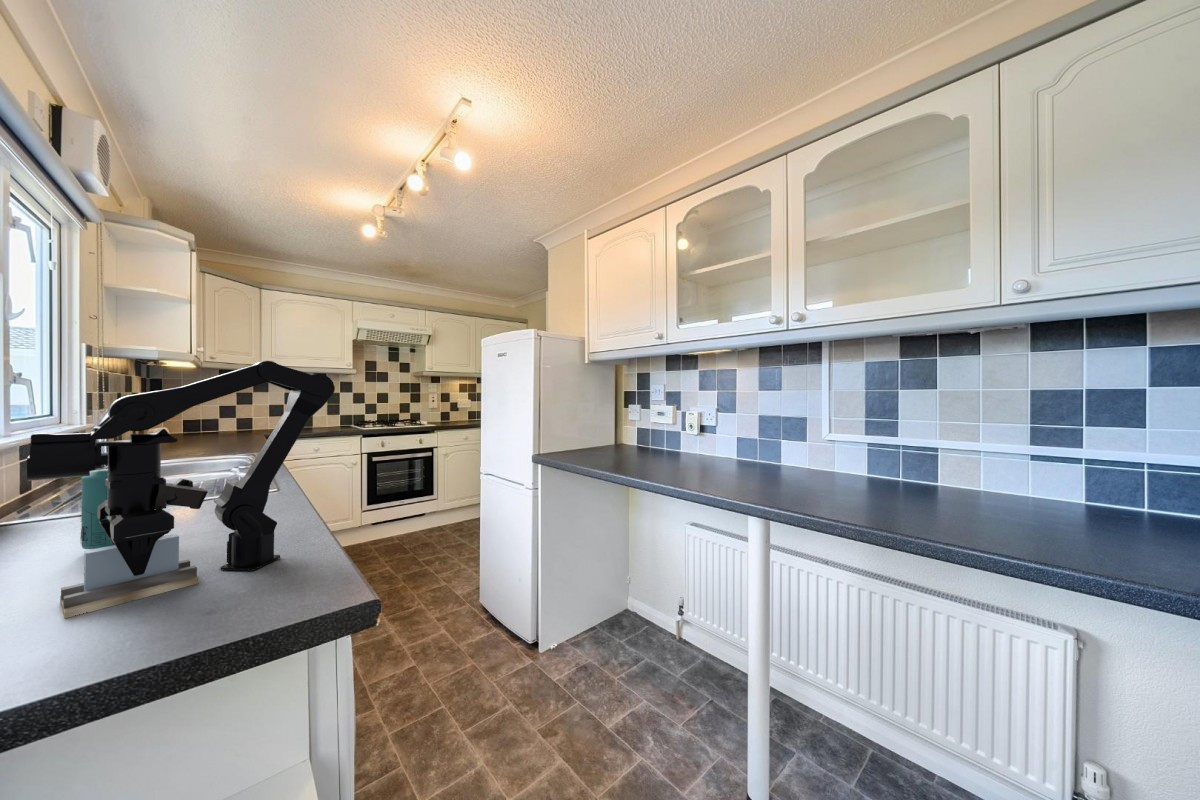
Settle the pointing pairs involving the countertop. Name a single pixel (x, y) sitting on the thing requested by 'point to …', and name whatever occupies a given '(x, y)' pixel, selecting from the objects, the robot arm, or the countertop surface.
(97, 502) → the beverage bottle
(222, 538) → the countertop surface
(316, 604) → the countertop surface
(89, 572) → the door panel
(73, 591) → the door track
